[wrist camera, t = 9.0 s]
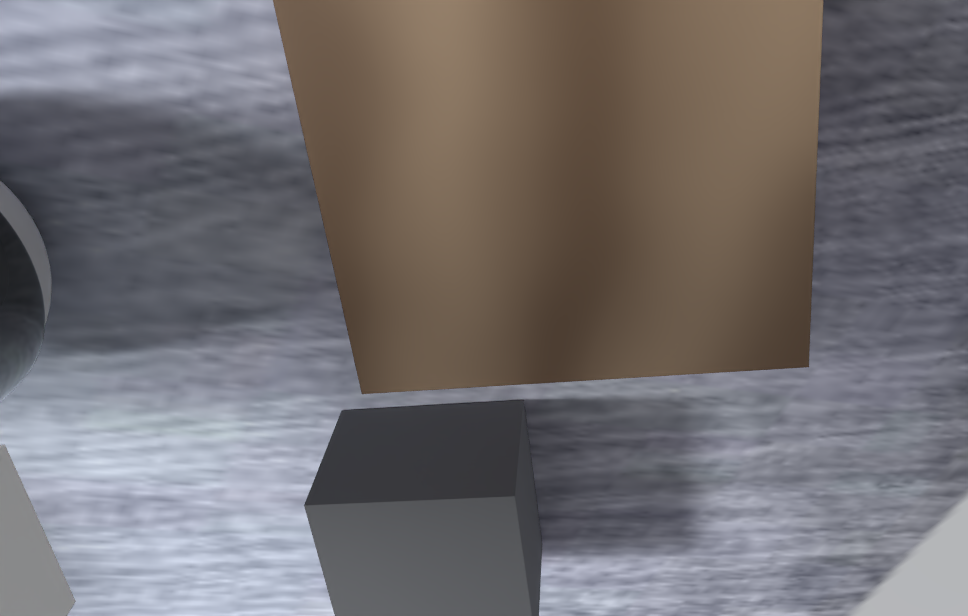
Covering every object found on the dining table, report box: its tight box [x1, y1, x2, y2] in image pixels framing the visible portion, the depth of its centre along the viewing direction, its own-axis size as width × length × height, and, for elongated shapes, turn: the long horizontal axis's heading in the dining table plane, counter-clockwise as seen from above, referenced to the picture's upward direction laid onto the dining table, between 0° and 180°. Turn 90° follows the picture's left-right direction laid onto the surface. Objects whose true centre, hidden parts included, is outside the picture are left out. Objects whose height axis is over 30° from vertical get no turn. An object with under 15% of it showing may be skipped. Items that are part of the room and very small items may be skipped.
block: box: [304, 400, 542, 616], centre depth 34 cm, size 7×7×6 cm
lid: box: [273, 0, 823, 394], centre depth 23 cm, size 12×12×2 cm
